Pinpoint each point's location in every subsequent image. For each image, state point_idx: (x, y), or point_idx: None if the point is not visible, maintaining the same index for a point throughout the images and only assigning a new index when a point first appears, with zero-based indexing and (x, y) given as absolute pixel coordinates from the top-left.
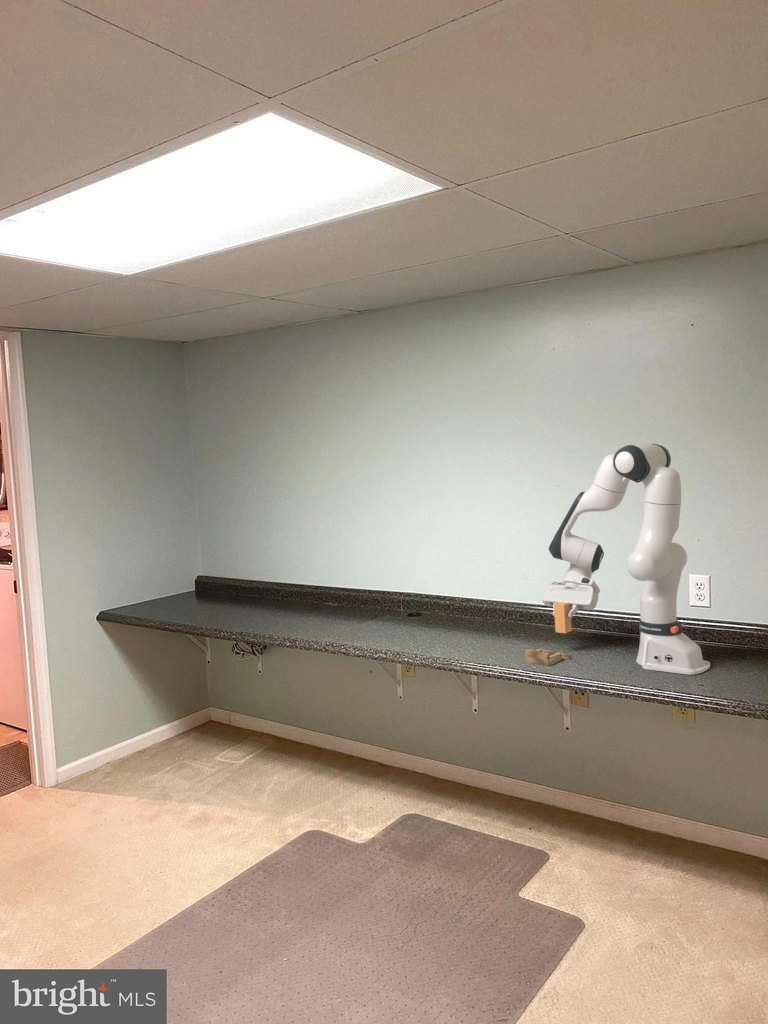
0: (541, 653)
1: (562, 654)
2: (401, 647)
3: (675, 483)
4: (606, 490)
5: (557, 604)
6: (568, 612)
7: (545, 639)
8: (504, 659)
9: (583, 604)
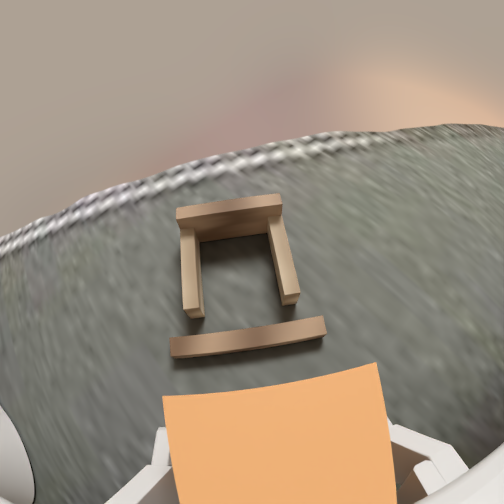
0: (202, 204)
1: (202, 339)
2: (500, 152)
3: None
4: None
5: (302, 381)
6: None
7: None
8: (345, 202)
9: (2, 498)
